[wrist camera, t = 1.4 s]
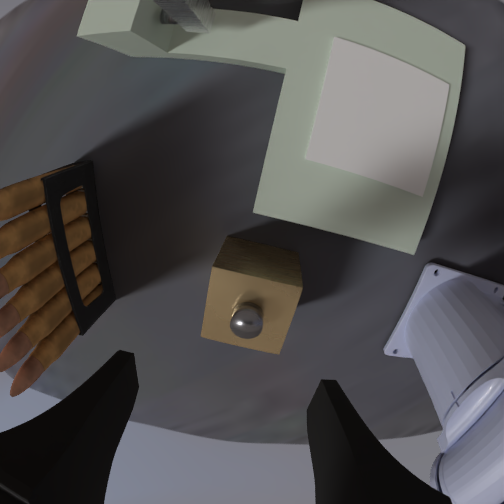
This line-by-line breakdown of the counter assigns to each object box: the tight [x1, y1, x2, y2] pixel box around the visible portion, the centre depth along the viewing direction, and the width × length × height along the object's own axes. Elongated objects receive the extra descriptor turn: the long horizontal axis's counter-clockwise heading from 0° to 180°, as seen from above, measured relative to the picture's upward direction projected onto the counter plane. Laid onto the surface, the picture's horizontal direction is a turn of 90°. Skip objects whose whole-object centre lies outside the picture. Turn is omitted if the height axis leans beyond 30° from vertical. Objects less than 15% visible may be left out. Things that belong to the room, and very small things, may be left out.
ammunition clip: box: [0, 160, 116, 397], centre depth 14 cm, size 11×2×12 cm, turn 1°
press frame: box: [77, 0, 465, 255], centre depth 12 cm, size 20×14×6 cm
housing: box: [201, 236, 303, 354], centre depth 17 cm, size 4×4×6 cm
